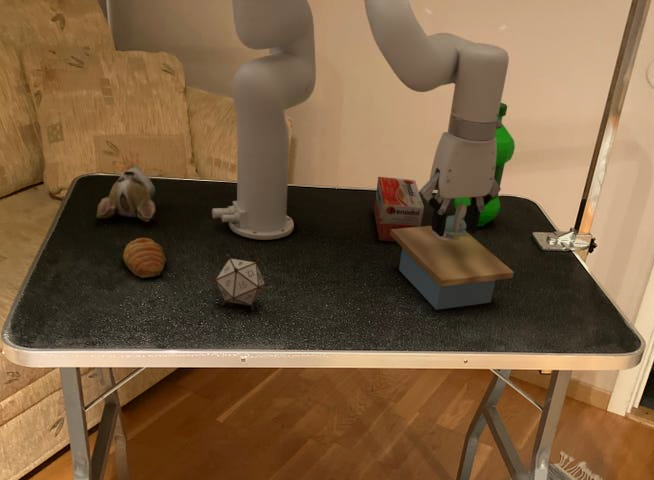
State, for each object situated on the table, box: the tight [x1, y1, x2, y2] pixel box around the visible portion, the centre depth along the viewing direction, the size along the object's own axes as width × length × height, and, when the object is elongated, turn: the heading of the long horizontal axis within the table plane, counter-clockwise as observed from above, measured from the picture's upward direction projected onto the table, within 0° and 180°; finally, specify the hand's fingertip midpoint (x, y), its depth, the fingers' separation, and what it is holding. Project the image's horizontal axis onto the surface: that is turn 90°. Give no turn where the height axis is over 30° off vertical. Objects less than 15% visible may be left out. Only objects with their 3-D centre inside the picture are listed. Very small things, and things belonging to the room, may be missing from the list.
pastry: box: [122, 237, 167, 279], centre depth 127 cm, size 9×7×4 cm
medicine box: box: [373, 176, 425, 243], centre depth 152 cm, size 15×8×8 cm, turn 6°
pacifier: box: [432, 202, 469, 241], centre depth 128 cm, size 7×6×6 cm
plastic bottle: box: [453, 102, 516, 227], centre depth 155 cm, size 10×10×25 cm
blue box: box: [398, 247, 496, 310], centre depth 134 cm, size 11×15×6 cm
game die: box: [209, 252, 271, 311], centre depth 120 cm, size 9×8×10 cm
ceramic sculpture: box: [95, 164, 157, 223], centre depth 143 cm, size 11×9×15 cm
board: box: [390, 225, 515, 287], centre depth 132 cm, size 14×20×1 cm
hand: (453, 230), depth 129 cm, fingers closed on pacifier, 5 cm apart
